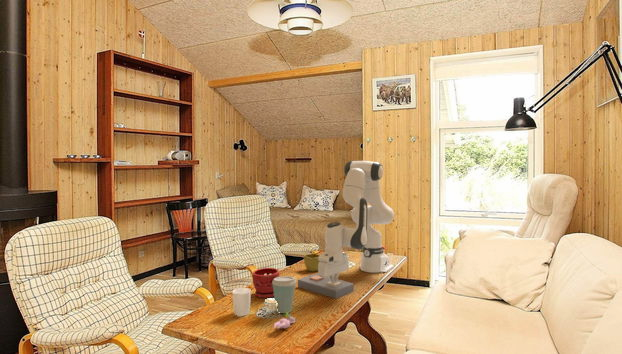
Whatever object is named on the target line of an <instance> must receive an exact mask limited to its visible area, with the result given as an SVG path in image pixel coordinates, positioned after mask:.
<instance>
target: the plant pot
mask: <svg viewBox="0 0 622 354" xmlns="http://www.w3.org/2000/svg"><path fill="white" fill-rule="evenodd" d="M277 277H280V270H279V269H278V268H274V267H263V268H258V269H256V270H255V269H254V271H252V282H253V286H254V289H255V293H254V294H255V295H256V296H257V297H259V298H263V299H267V298H266V297H269V298H273V297H274V291H273V284H272V281H273V280H274V278H277Z"/></svg>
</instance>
